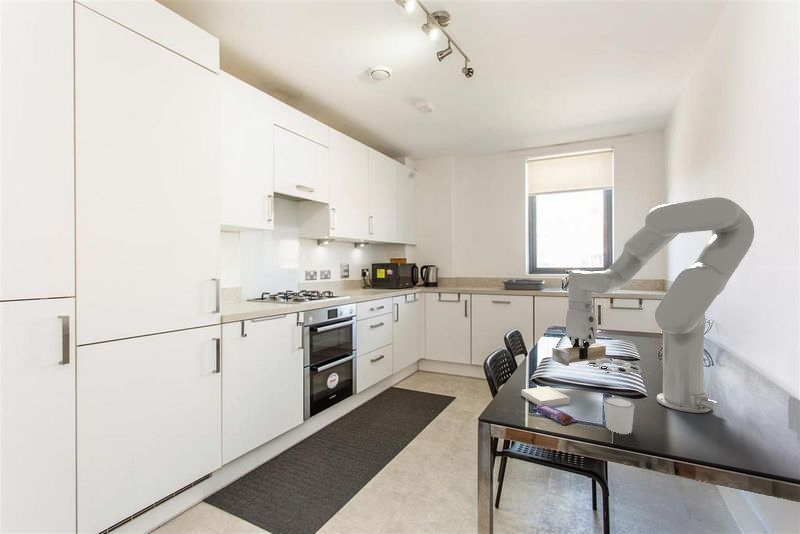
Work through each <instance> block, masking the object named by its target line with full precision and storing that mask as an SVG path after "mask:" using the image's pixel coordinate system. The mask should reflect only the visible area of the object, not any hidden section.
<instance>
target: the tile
mask: <svg viewBox="0 0 800 534" xmlns="http://www.w3.org/2000/svg"><path fill="white" fill-rule="evenodd" d="M521 396H522V397H523V398H525V399H527V400H528V401H530V402H531V403H533V404H535V405H536V404H537V407H540V406H547V405H548V406H552V407H555V406H562V405H567V404H570V403H571V397H570V396H569V395H567V394H565V393H563V392H560V391H558V390H556V389H554V388H553V387H551V386H549V385H548V386H540V387H538V386H537V387H532V388H525V389H521Z"/></svg>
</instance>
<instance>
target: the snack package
mask: <svg viewBox="0 0 800 534" xmlns="http://www.w3.org/2000/svg"><path fill="white" fill-rule="evenodd" d="M532 409H533V410H534V411H536V412H537V411H538V412H537V413H539V412H540V413H539V414H541V413H542V414H541V415H543V414H544V415H543V416H545V415H547V416H549V417H551V418H553V419H554V420H553V419H552V420H553V421H555V420H556V421H555V422H557V421H558V422H557V423H559V422H560V423H559V424H561V423H562V424H561V425H564V426H565V425H569V424H572V423H576V422H578V420H577V419H575V418H574V417H573V416H571V415H570V414H568V413H566V412H564V411H562V410H560V409H558V408H556V407H555V406H548V405H547V406H537V407H533V408H532ZM547 416H546V417H547ZM549 417H548V418H549ZM551 418H550V419H551Z"/></svg>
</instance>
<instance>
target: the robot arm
mask: <svg viewBox="0 0 800 534" xmlns="http://www.w3.org/2000/svg"><path fill="white" fill-rule="evenodd" d="M705 231H706V232H707V231H712V232H711V237H710V239H709V240H708V242H706V244H705V246H704V247H703V250H702V251H701V253H700V254H699V256H698V257H697V259H696V260H695V261H694V263H693V264H692V265H691V266H689V267H687V268H685V269H683V270H681V272H680V273H679V274H678V275H677V276H676V277H675V279H674V280H673V282H672V283H671V285H670V286H669V289H668V290H667V291H666V293H665V294H664V296H663V297H662V299H661V301H660V302H659V304H658V305H657V307H656V308H655V313H654V318H655V322H656V325H657V326H658V328H660V329H661V330H662V392H661V393H658V394H657V395H656V401H657V402H658V403H659V404H660V405H662V406H665V407H666V408H669V409H673V410H676V411H681V412H686V413H695V414H696V413H697V414H702V413H708V412H711V411H713V412H716V411H718V407H719V402H718V401H716V400H712V399H709V393H707V392H705V377H704V376H705V369H704V367H705V366H704V365H705V363H704V362H705V361H704V360H705V358H704V354H705V326H706V314H705V313H706V312H707V310H708V309H709V307H710V306H711V305H712V303H713V302H714V300H715V299H716V298H717V296H719V295H720V294H721V293H722V292H724V290H725V288H726V285H727V284H728V282H729V281H730V279H731V277H732V276H733V275H734V273H735V271H736V270H737V269H738V267H739V266H740V264H741V262H742V261H743V259H744V258H745V257H746V255H747V253H748V251H749V249H750V248H751V246H752V244H753V243H754V237H755V226H754V223H753V220H752V218H751V217H750V215H749V214H748V213H747V212H746V210H745V209H743V208H742V206H740V205H739V204H738V203H736V202H735V201H733V200H731V199H729V198H725V197H723V196H722V197H720V196H717V197H716V196H715V197H706V198H701V199H695V200H694V199H693V200H687V201H680V202H674V203H667V204H662V205H658V206H656V207H654V208H652V209H651V210H650V211H649V212H648V213H647V214H646V216H645V218H644V224H643V225H642V226H641V227H639V229H638V230H637V231H635V232H634V234H633V235H631V236H630V237H629V239H627V241H626V242H625V243H624V245H623V251H622V252H621V254H620V255H619V256H618V258H617V260H616V261H614V262H613V263H612V264H611V265H610V266H609V267H608V268H607V269H606V270H599V271H588V270H573V271H570V272H569V273H568V308H567V311H566V317H565V318H566V319H565V336H566V337H567V338H568V339H569V341H570V344H571V346H572V347H581V348H579V359H581V360H582V359H587V358H588V348H589V346H590V345H596V343H597V342H596V339H597V337H598V329H597V328H598V326H597V319H596V314H595V311H594V310H593V309H594V304H593V293H594V294H599V295H605V294H609V293H613V292H616V291H618V290H619V289H621V288H622V287H623V286H624V285H626V284H627V283H629V281H630V280H632V278H634V277H635V276H636V275H637V274H638V273H639V272H640V271H641V270H642V269H643V268H644V267H645V266H646V265H647V264H648V263H649V261H650V260H651V259H652V258H654V257H655V255H657V254H658V253H659V252H660V251H662V249H664V248H665V247H666V246H667V245H668V244H669V243H670V242H672V241H673V240H674V239H675V238H676V237H677V236H678V235H679V234H686V233H688V234H689V233H694V232H695V233H696V232H697V233H698V232H705Z"/></svg>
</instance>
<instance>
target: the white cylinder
mask: <svg viewBox="0 0 800 534" xmlns="http://www.w3.org/2000/svg"><path fill="white" fill-rule="evenodd" d="M602 403H603V409H604V410H603V411H604V418H605V419H604V420H605V427H606V429H607V428H608V429H609V430H608V429H607V430H608V431H610V430H611V431H610V432H612V431H613V433H614V432H616V433H615V434H618V433H619V435H630V434H632V432H633V422H634V415H635V414H634V412H635V403H633V402H632V401H631V400H629V399H625V398H621V397H614V396H613V397H612V396H611V397H605V398H603V400H602ZM629 433H630V434H629Z"/></svg>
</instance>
